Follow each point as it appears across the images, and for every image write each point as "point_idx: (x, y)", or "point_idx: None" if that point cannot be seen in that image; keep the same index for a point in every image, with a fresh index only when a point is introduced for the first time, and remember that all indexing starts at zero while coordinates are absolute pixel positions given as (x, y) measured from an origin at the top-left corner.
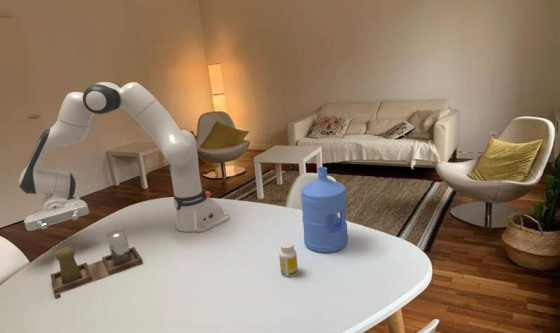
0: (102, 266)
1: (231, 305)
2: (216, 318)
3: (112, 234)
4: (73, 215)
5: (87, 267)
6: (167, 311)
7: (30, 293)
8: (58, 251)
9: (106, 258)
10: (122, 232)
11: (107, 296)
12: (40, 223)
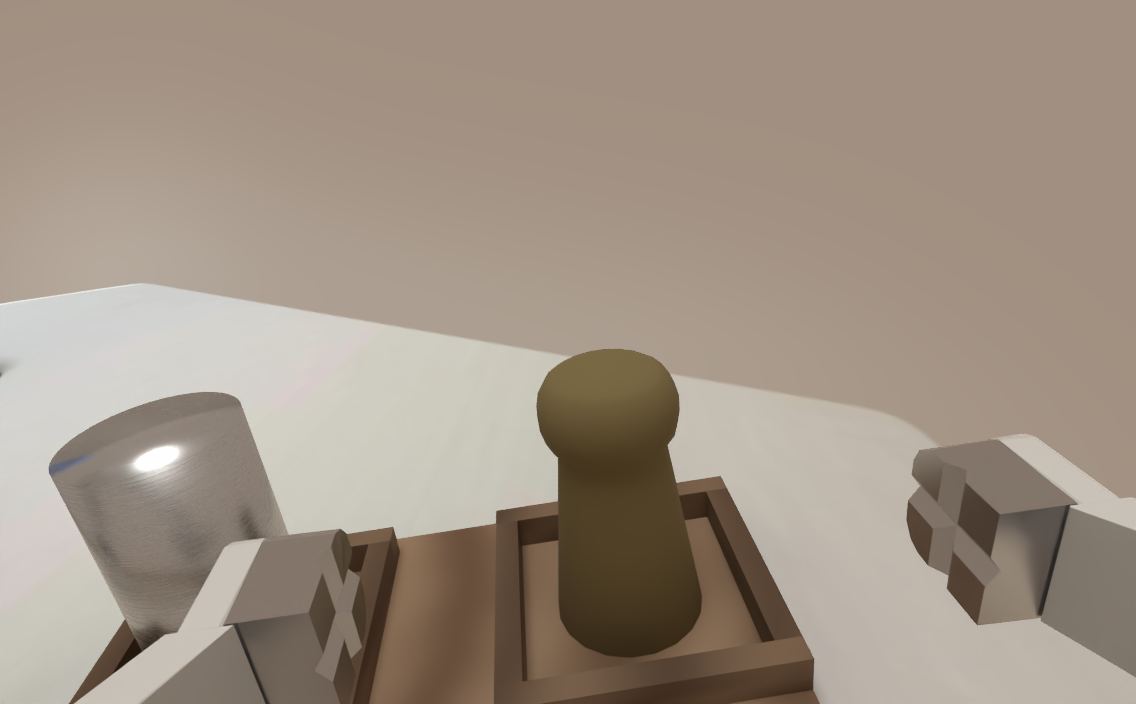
0: (395, 668)
1: (208, 340)
2: (272, 323)
3: (183, 429)
4: (288, 535)
5: (501, 620)
6: (340, 355)
7: (937, 620)
8: (647, 364)
9: None
10: (106, 430)
11: (469, 449)
12: (1131, 499)
